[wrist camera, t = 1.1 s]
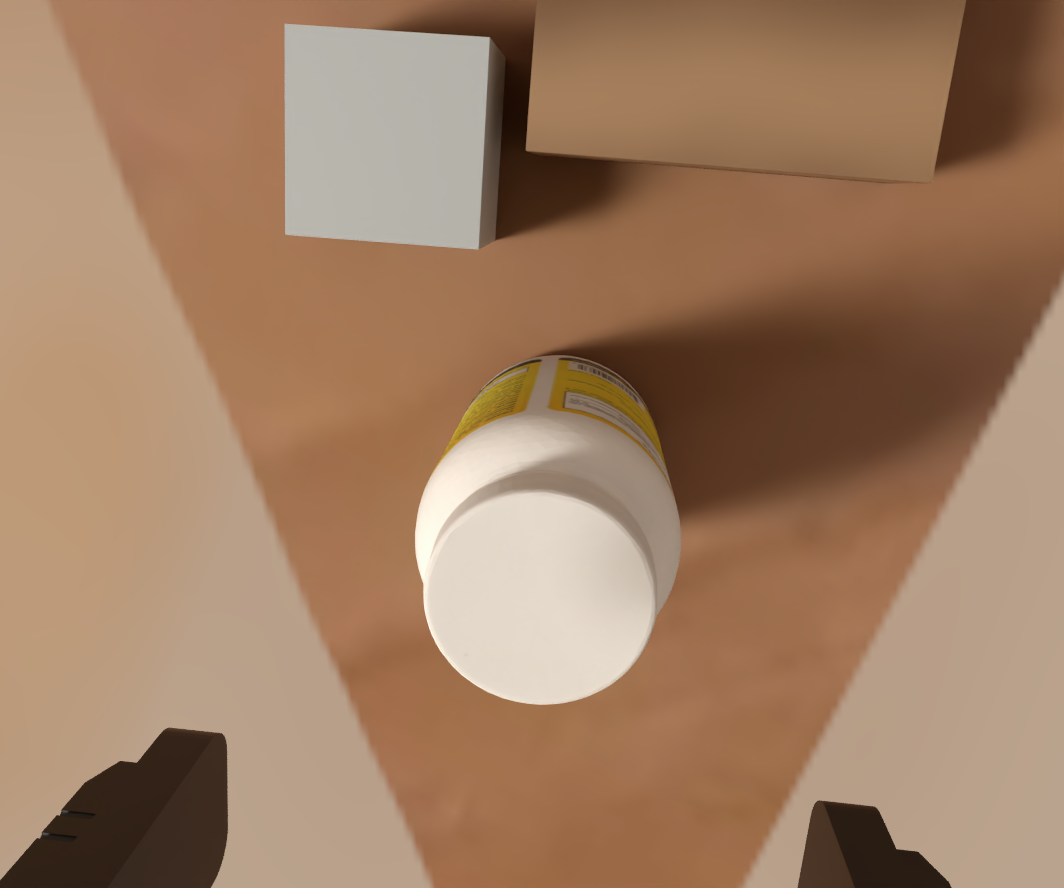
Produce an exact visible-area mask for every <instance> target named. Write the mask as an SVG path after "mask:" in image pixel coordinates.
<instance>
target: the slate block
mask: <svg viewBox="0 0 1064 888" xmlns="http://www.w3.org/2000/svg"><path fill="white" fill-rule="evenodd" d="M505 63H506V58H505V56H504V55H503V54H502V52H501V51H500V50H499V49H498V47H497V46H496V45H495V43H494V42H493V41H492V39H491V38H490V37H479V36H463V35H448V34H432V33H417V32H401V31H386V30H370V29H355V28H339V27H324V26H309V25H293V24H285V235H296V236H309V237H322V238H335V239H348V240H361V241H374V242H387V243H400V244H414V245H427V246H440V247H453V248H466V249H480V248H482V247H484V246H486V245H488V244H490V243H491V242H493V241H495V237H496V219H497V202H498V185H499V167H500V150H501V133H502V115H503V98H504V81H505Z"/></svg>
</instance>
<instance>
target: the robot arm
mask: <svg viewBox="0 0 1064 888" xmlns="http://www.w3.org/2000/svg"><path fill="white" fill-rule="evenodd" d="M227 808H228V804H227V744H226V740H225V737H224V735H223V734H222V733H213V732H204V731H195V730H186V729H176V728H167V729H165V730H164V731H163V732H162V733H161V734H160V735H159V736H158V737H157V739H156V740H155V741H154V742H153V744H152V745H151V746H150V748H149V749H148V750H147V751H146V752H145V754H144V755H143V756H142V757H141V759H140V760H139V761H138V762H137V763H133V762H124V761H120V762H118V763H117V764H115V765H113V766H111V767H110V768H108V769H106V770H105V771H103V772H102V773H100V774H98V775H97V776H95V777H94V778H92V779H90V780H89V781H87V782H85V783H84V784H83V786H82V787H81V788H80V789H79V790H78V791H77V792H76V794H75V795H74V796H73V797H72V798H71V800H70V801H69V802H68V803H67V804H66V805H65V806H64V808H63V809H62V810H61V814H60V816H58V815H57V816H56V817H55V818H54V819H53V820H52V821H51V823H50V824H49V825H48V826H47V827H46V828H45V829H44V831H43V832H42V836H41V838H40V839H39V838H37V839H36V840H35V841H34V842H33V843H32V844H31V846H30V847H29V848H28V849H27V850H26V851H25V852H24V854H23V855H22V856H21V857H20V858H19V859H18V861H17V862H16V863H15V864H14V865H13V866H12V868H11V869H10V870H9V871H8V872H7V873H6V874H5V876H4V877H3V878H2V879H1V880H0V888H211V886H212V885H213V883H214V881H215V879H216V877H217V875H218V872H219V869H220V866H221V864H222V860H223V856H224V852H225V847H226V841H227V833H228V832H227V831H228V809H227ZM798 888H951V886H950V884H949V882H948V881H947V880H946V879H945V878H944V877H943V876H942V875H941V874H940V873H939V872H938V871H937V870H936V869H935V868H934V867H933V866H932V865H931V864H930V863H929V862H928V861H927V860H926V859H925V858H924V857H923V856H922V855H921V854H920V853H919V852H915V851H906V850H897V849H896V848H895V845H894V843H893V841H892V839H891V836H890V834H889V832H888V830H887V827H886V825H885V823H884V821H883V819H882V817H881V814H880V812H879V811H878V809H877V808H876V807H873V806H863V805H855V804H846V803H837V802H828V801H817V802H816V803H815V805H814V807H813V810H812V814H811V818H810V823H809V829H808V835H807V840H806V846H805V851H804V856H803V862H802V867H801V872H800V878H799V883H798Z"/></svg>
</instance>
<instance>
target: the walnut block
mask: <svg viewBox="0 0 1064 888" xmlns="http://www.w3.org/2000/svg"><path fill="white" fill-rule="evenodd" d="M965 4H966V0H537V1H536V15H535V28H534V42H533V56H532V69H531V83H530V97H529V111H528V124H527V138H526V151H527V152H530V153H532V154H534V155H542V156H554V157H567V158H579V159H592V160H604V161H617V162H629V163H642V164H654V165H667V166H679V167H692V168H704V169H717V170H729V171H742V172H754V173H767V174H779V175H792V176H804V177H816V178H829V179H841V180H854V181H866V182H879V183H932V180H933V175H934V169H935V164H936V159H937V153H938V148H939V143H940V137H941V132H942V127H943V121H944V116H945V111H946V105H947V100H948V95H949V89H950V84H951V79H952V73H953V68H954V63H955V57H956V52H957V47H958V41H959V36H960V31H961V25H962V20H963V14H964V9H965Z"/></svg>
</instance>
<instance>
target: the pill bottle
mask: <svg viewBox="0 0 1064 888" xmlns="http://www.w3.org/2000/svg"><path fill="white" fill-rule="evenodd" d="M415 548H416V558H417V563H418V568H419V571H420V574H421V577H422V581H423V583H424V608H425V614H426V618H427V622H428V625H429V629H430V631H431V634H432V636H433V638H434V640H435V642H436V644H437V646H438V647H439V649H440V651H441V652H442V653H443V655H444V656H445V657H446V659H447V660H448V661H449V663H450V664H451V665H452V666H453V667H454V668H455V669H456V670H457V671H458V672H459V673H460V674H461V675H463V676H464V677H465V678H466V679H468V680H469V681H471V682H472V683H473V684H475V685H476V686H478V687H480V688H482V689H483V690H485V691H487V692H489V693H492V694H494V695H497V696H499V697H502V698H504V699H508V700H512V701H517V702H522V703H528V704H540V705H542V704H559V703H565V702H570V701H575V700H579V699H582V698H585V697H588V696H590V695H592V694H594V693H596V692H599V691H601V690H603V689H605V688H606V687H608V686H609V685H611V684H613V683H614V682H615V681H617V680H618V679H619V678H620V677H621V676H623V675H624V674H625V673H626V672H627V671H628V670H629V669H630V668H631V666H632V665H633V664H634V663H635V662H636V661H637V659H638V658H639V656H640V655H641V653H642V652H643V650H644V648H645V646H646V644H647V642H648V640H649V638H650V635H651V632H652V630H653V627H654V623H655V618H656V615H657V614H658V613H659V611H660V610H661V608H662V607H663V605H664V604H665V602H666V600H667V598H668V596H669V594H670V592H671V589H672V587H673V584H674V581H675V576H676V573H677V569H678V565H679V560H680V553H681V526H680V518H679V514H678V509H677V505H676V501H675V497H674V494H673V490H672V487H671V483H670V480H669V476H668V472H667V469H666V465H665V461H664V457H663V453H662V449H661V445H660V441H659V437H658V433H657V430H656V427H655V424H654V421H653V419H652V416H651V414H650V412H649V410H648V408H647V406H646V404H645V403H644V401H643V400H642V398H641V397H640V396H639V394H638V393H637V392H636V390H635V389H634V388H633V387H632V386H631V385H630V384H629V383H628V382H627V381H626V380H624V379H623V378H622V377H621V376H619V375H618V374H617V373H615V372H614V371H612V370H610V369H609V368H607V367H605V366H603V365H601V364H599V363H596V362H593V361H591V360H587V359H583V358H579V357H574V356H567V355H550V356H541V357H536V358H531V359H528V360H525V361H522V362H519V363H517V364H515V365H512V366H510V367H509V368H507V369H505V370H504V371H502V372H500V373H499V374H498V375H496V376H495V377H494V378H493V379H492V380H490V381H489V382H488V383H487V384H486V385H485V386H484V387H483V388H482V389H481V391H480V392H479V393H478V394H477V395H476V397H475V398H474V400H473V401H472V403H471V404H470V406H469V407H468V409H467V411H466V412H465V414H464V416H463V418H462V420H461V422H460V424H459V426H458V428H457V429H456V431H455V433H454V435H453V437H452V439H451V441H450V442H449V444H448V446H447V448H446V450H445V452H444V453H443V455H442V457H441V459H440V460H439V462H438V464H437V466H436V468H435V469H434V471H433V473H432V475H431V477H430V479H429V481H428V483H427V485H426V488H425V490H424V492H423V495H422V499H421V502H420V506H419V510H418V516H417V523H416V531H415Z"/></svg>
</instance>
